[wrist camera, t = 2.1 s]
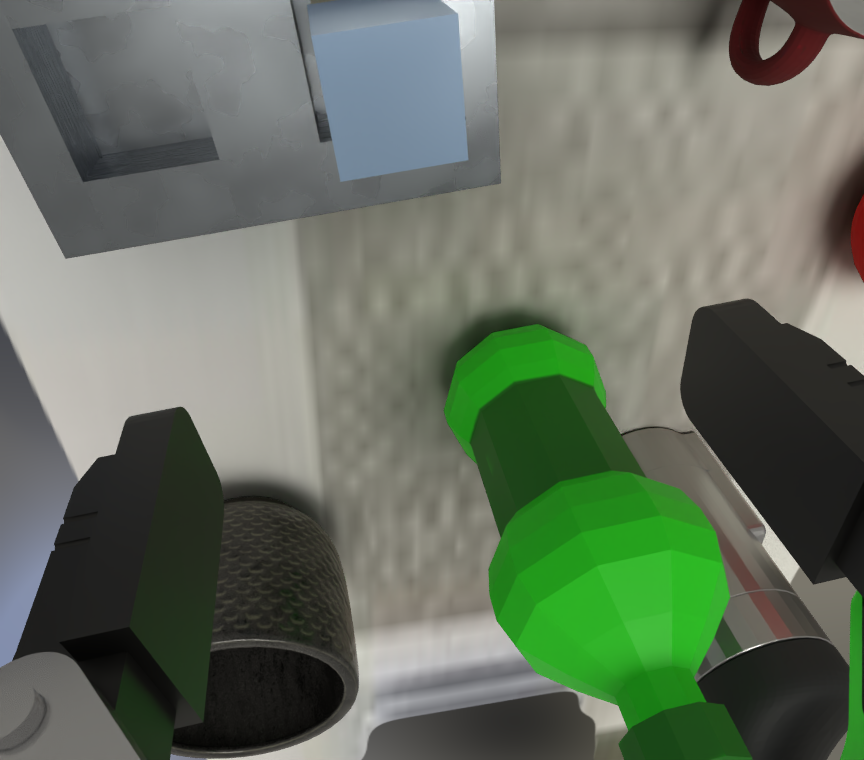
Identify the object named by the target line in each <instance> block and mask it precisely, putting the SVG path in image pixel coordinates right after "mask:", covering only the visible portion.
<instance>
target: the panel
mask: <svg viewBox="0 0 864 760" xmlns="http://www.w3.org/2000/svg"><path fill="white" fill-rule="evenodd" d="M441 1H442V2H444V3H445V4H446V5H448V6H449V7H450V8H451V9H453V10H454V11H455V12H457V13H458V20H459V34H460V48H461V63H462V77H463V91H464V106H465V120H466V134H467V148H468V160H466V161H460V162H454V163H449V164H443V165H437V166H431V167H425V168H419V169H413V170H407V171H402V172H396V173H390V174H384V175H378V176H372V177H366V178H360V179H354V180H349V181H343V182H340V177H339V172H338V167H337V162H336V157H335V152H334V147H333V142H332V137H331V132H330V127H329V122H328V117H327V112H326V107H325V102H324V98H323V93H322V88H321V83H320V78H319V73H318V68H317V63H316V58H315V53H314V48H313V43H312V38H311V32H310V24H309V17H308V9H307V5H308V4H311V1H310V0H0V134H1V136H2V138H3V140H4V142H5V144H6V146H7V148H8V150H9V151H10V153H11V155H12V157H13V159H14V161H15V163H16V165H17V167H18V169H19V171H20V172H21V174H22V176H23V178H24V180H25V182H26V184H27V186H28V188H29V190H30V192H31V193H32V195H33V197H34V199H35V201H36V203H37V205H38V207H39V209H40V211H41V213H42V214H43V216H44V218H45V220H46V222H47V224H48V226H49V228H50V230H51V232H52V234H53V235H54V237H55V239H56V241H57V243H58V245H59V247H60V249H61V251H62V253H63V255H64V256H65V258H66V259H67V258H72V257H78V256H84V255H90V254H95V253H101V252H107V251H113V250H119V249H124V248H130V247H136V246H142V245H147V244H153V243H159V242H165V241H171V240H176V239H182V238H188V237H194V236H199V235H205V234H211V233H217V232H222V231H228V230H234V229H240V228H246V227H251V226H257V225H263V224H269V223H274V222H280V221H286V220H292V219H298V218H303V217H309V216H315V215H321V214H326V213H332V212H338V211H344V210H350V209H355V208H361V207H367V206H373V205H378V204H384V203H390V202H396V201H402V200H407V199H413V198H419V197H425V196H430V195H436V194H442V193H448V192H453V191H459V190H465V189H471V188H477V187H482V186H488V185H494V184H500V183H501V172H500V146H499V120H498V94H497V68H496V42H495V16H494V0H441Z"/></svg>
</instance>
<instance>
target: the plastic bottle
mask: <svg viewBox="0 0 864 760" xmlns="http://www.w3.org/2000/svg"><path fill="white" fill-rule="evenodd" d="M605 408H606V391H605V389H604V386H603V383H602V380H601V377H600V374H599V372H598V369H597V366H596V363H595V360H594V357H593V356H592V354H591V352H590V351H589V349H588V348H587V346H586V345H584V344H582V343H580V342H578V341H576V340H574V339H572V338H569V337H567V336H565V335H562V334H560V333H558V332H555V331H553V330H551V329H548V328H546V327H544V326H541V325H539V324H535V325H530V326H524V327H519V328H514V329H509V330H503V331H498V332H493V333H491V334H490V335H489V336H487V337H486V338H485V339H484V340H483V341H481V342H480V343H479V344H478V345H477V346H475V347H474V348H473V349H472V350H471V351H469V352H468V353H467V354H466V355H465V356H463V357H462V358H461V359H460V360H459V361H457V364H456V368H455V371H454V375H453V379H452V382H451V386H450V389H449V393H448V397H447V400H446V404H445V408H444V413H445V417H446V420H447V423H448V425H449V427H450V428H451V430H452V431H453V433H454V435H455V436H456V438H457V440H458V441H459V443H460V444H461V446H462V448H463V449H464V451H465V453H466V454H467V455H468V456H469V457H470V458H471V459H472V460H473V461H474V462H475V463H476V464H477V465H478V468H479V471H480V474H481V478H482V481H483V484H484V487H485V490H486V493H487V496H488V499H489V502H490V506H491V509H492V512H493V515H494V518H495V521H496V524H497V527H498V530H499V534H500V537H501V540H500V542H499V545H498V547H497V550H496V552H495V554H494V557H493V559H492V562H491V564H490V567H489V594H490V598H491V602H492V606H493V609H494V613H495V616H496V620H497V622H498V623H499V624H500V626H501V627H502V628H503V630H504V631H505V632H506V634H507V635H508V636H509V638H510V639H511V640H512V642H513V643H514V644H515V646H516V647H517V648H518V650H519V651H520V652H521V654H522V655H523V656H524V657H525V659H526V660H527V661H528V663H529V664H530V665H531V666H532V668H533V669H534V670H535V672H536V673H538V674H540V675H542V676H544V677H547V678H549V679H551V680H553V681H556V682H558V683H560V684H562V685H565V686H567V687H569V688H571V689H574V690H576V691H578V692H581V693H584V694H587V695H590V696H593V697H595V698H598V699H601V700H604V701H607V702H610V703H613V704H615V705H618V706H619V708H620V711H621V713H622V716H623V718H624V721H625V723H626V726H627V728H628V732H627V734H626V735H625V736H624V737H623V739H622V740H621V741H620V742H619V747H620V750H621V752H622V755H623V757H624V760H753V759H752V756H751V755H750V753H749V751H748V749H747V747H746V745H745V743H744V741H743V739H742V738H741V736H740V734H739V732H738V730H737V728H736V726H735V724H734V722H733V721H732V719H731V717H730V715H729V713H728V711H727V709H726V707H725V705H723V704H715V703H707V702H706V700H705V698H704V696H703V694H702V692H701V690H700V688H699V686H698V684H697V683H696V681H695V679H694V677H695V675H696V673H697V671H698V669H699V667H700V665H701V663H702V661H703V659H704V657H705V655H706V653H707V651H708V649H709V647H710V645H711V643H712V641H713V639H714V636H715V634H716V631H717V629H718V626H719V624H720V621H721V619H722V616H723V614H724V611H725V609H726V606H727V604H728V601H729V599H730V594H729V589H728V584H727V579H726V573H725V569H724V564H723V560H722V556H721V552H720V548H719V544H718V540H717V535H716V531H715V530H714V528H713V527H712V525H711V524H710V522H709V521H708V519H707V518H706V516H705V515H704V513H703V512H702V510H701V509H700V507H698V506H697V505H696V504H695V503H694V502H693V501H692V500H691V499H690V498H689V497H688V496H687V495H686V494H685V493H684V492H683V491H682V490H680V489H679V488H676V487H673V486H670V485H667V484H664V483H660V482H657V481H654V480H651V479H648V478H647V477H646V476H645V474H644V472H643V471H642V469H641V467H640V466H639V464H638V462H637V461H636V459H635V457H634V456H633V454H632V452H631V451H630V449H629V447H628V446H627V444H626V442H625V441H624V439H623V437H622V436H621V434H620V433H619V431H618V429H617V428H616V426H615V424H614V423H613V421H612V419H611V418H610V416H609V414H608V413H607V411H606V409H605Z"/></svg>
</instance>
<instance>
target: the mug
mask: <svg viewBox="0 0 864 760" xmlns="http://www.w3.org/2000/svg"><path fill="white" fill-rule="evenodd" d="M771 1H772V2H773V3H775V4H776V5H778V6H779V7H781V8H782V9H783V10H784V11H786V12H787V13H788V14H789V15H790V16H791V17H792V18H793V19H794V21H795V22H796V23H795V27H794V29H793V31H792V33H791V35H790V36H789V38H788V40H787V41H786V43H785V44H784V46H783V47H782V48H781V49H780V50H779V51H778V52H777V53H776V54H775V55H773V56H771V57H770V58H768V59H766V60H762V58H761V56H760V54H759V37H760V31H761V27H762V23H763V19H764V16H765V13H766V10H767V7H768V4H769V2H770V0H743V1H742V3H741V5H740V8H739V10H738V13H737V15H736V18H735V21H734V24H733V27H732V31H731V35H730V41H729V56H730V61H731V65H732V67H733V69H734V71H735V72H736V73H737V74H738V75H739V76H740V77H741V78H742V79H743V80H745V81H748V82H750V83H752V84H755V85H766V86H770V85H775V84H779V83H783V82H785V81H787V80H790V79H792V78H793V77H795V76H796V75H798V74H800V73H801V72H802V71H803V70H804V69H806V68H807V67H808V66H809V65H810V64H811V62H812V61H813V60H814V59H815V58H816V56H817V55H818V53H819V52H820V51H821V49H822V47H823V46H824V44H825V42H826V40H827V38H828V37H829V36H830V35H831V34H841V35H846V36H851V37H856V38H860V39H864V0H771Z"/></svg>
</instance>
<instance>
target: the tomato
mask: <svg viewBox="0 0 864 760" xmlns="http://www.w3.org/2000/svg"><path fill="white" fill-rule="evenodd" d="M851 248H852V254H853V259H854V264H855V266H856V268H857V270H858V272H859V274H860V276H861V278H862V280H863V282H864V195H863V197H862V199H861V201H860V202H859V204H858V206H857V208H856V211H855V214H854V217H853V220H852V227H851Z"/></svg>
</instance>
